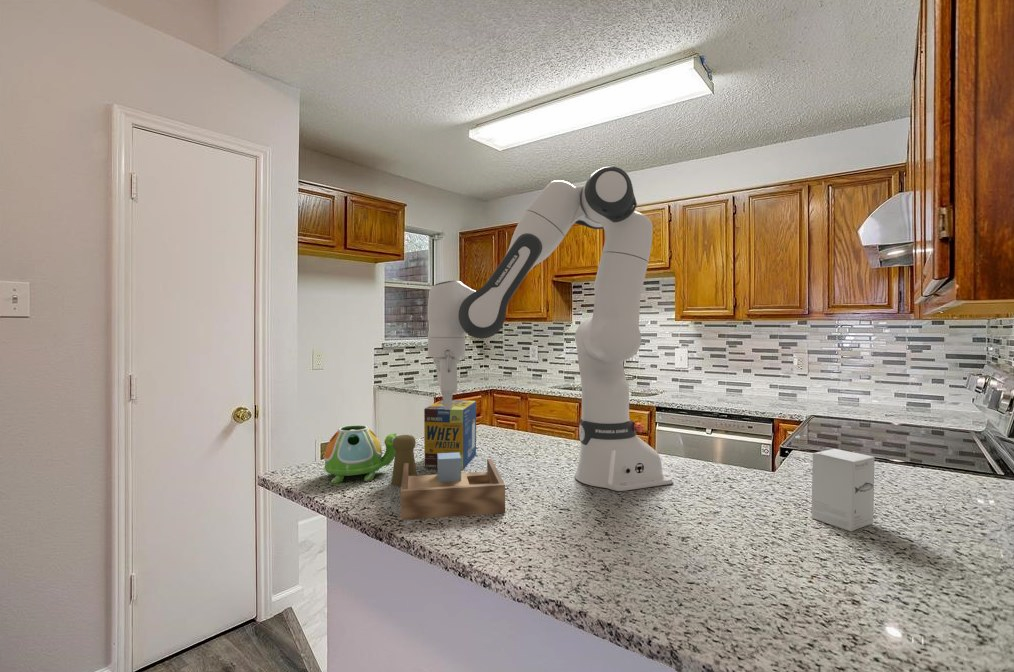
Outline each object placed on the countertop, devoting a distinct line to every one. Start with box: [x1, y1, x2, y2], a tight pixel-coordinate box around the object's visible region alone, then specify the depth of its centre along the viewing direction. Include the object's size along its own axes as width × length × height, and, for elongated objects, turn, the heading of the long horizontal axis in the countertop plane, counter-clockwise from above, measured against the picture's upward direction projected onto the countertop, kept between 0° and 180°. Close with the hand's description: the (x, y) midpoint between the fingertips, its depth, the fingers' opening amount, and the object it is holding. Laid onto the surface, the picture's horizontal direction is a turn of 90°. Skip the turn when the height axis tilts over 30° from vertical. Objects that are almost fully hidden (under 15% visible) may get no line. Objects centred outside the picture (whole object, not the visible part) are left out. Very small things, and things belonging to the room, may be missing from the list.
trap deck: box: [400, 458, 506, 521], centre depth 104 cm, size 20×19×6 cm
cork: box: [391, 434, 418, 488], centre depth 115 cm, size 6×6×11 cm
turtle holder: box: [323, 424, 399, 484], centre depth 121 cm, size 12×18×12 cm
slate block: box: [437, 452, 462, 482], centre depth 110 cm, size 5×5×5 cm
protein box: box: [423, 399, 477, 471], centre depth 133 cm, size 10×15×16 cm
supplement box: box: [811, 448, 876, 532], centre depth 91 cm, size 7×7×13 cm
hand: (447, 407), depth 117 cm, fingers open, 4 cm apart
